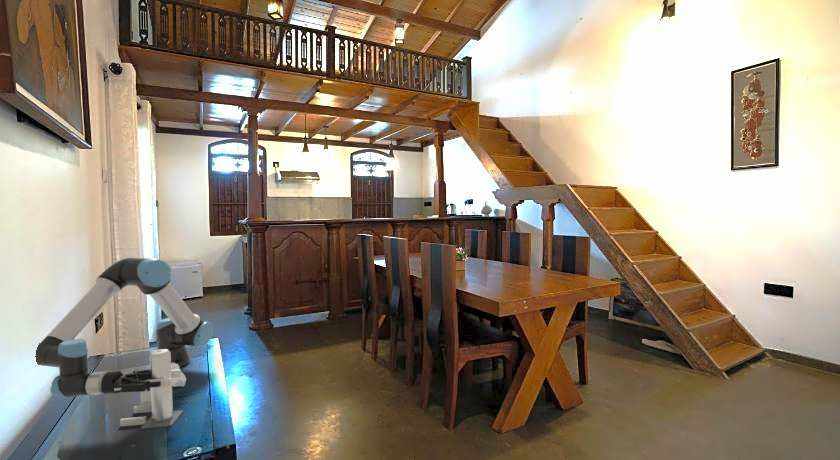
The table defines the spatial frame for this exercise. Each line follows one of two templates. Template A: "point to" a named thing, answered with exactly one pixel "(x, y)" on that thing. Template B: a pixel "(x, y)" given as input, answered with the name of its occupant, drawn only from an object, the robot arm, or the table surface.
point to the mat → (170, 422)
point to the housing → (139, 410)
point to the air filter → (161, 395)
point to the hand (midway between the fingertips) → (176, 377)
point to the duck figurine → (178, 380)
